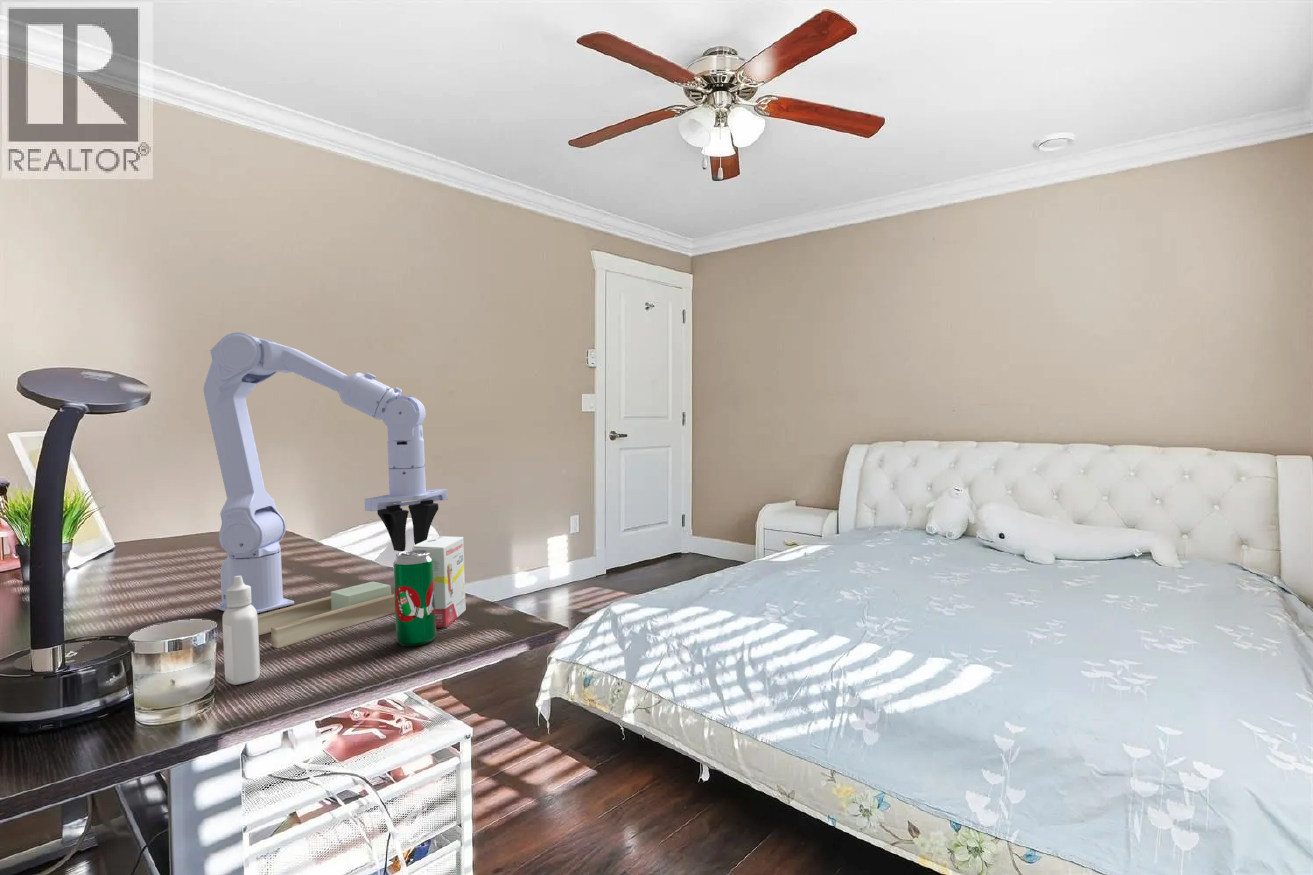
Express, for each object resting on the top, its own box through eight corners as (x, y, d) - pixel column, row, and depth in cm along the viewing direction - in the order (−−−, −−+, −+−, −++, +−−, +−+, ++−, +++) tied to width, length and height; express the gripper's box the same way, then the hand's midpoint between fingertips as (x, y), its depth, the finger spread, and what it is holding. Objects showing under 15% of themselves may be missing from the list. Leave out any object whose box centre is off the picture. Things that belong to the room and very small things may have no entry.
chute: (243, 636, 90) (242, 618, 90) (373, 599, 106) (372, 585, 106) (277, 648, 84) (277, 629, 84) (409, 608, 101) (408, 592, 101)
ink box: (446, 628, 91) (443, 546, 90) (413, 628, 91) (409, 546, 91) (467, 610, 99) (465, 535, 99) (436, 610, 100) (433, 535, 99)
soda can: (426, 632, 89) (423, 547, 89) (443, 640, 86) (439, 552, 85) (390, 641, 86) (386, 553, 85) (406, 651, 82) (402, 559, 82)
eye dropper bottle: (210, 688, 72) (204, 583, 72) (233, 669, 78) (229, 571, 77) (252, 684, 73) (247, 580, 72) (272, 666, 78) (268, 569, 78)
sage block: (331, 617, 98) (330, 591, 98) (374, 605, 104) (373, 581, 104) (349, 622, 95) (348, 596, 95) (391, 610, 101) (390, 585, 101)
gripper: (381, 472, 98) (385, 559, 99) (457, 464, 110) (460, 542, 111) (355, 470, 102) (359, 554, 102) (431, 463, 114) (434, 539, 115)
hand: (410, 548), depth 107 cm, fingers open, 3 cm apart
